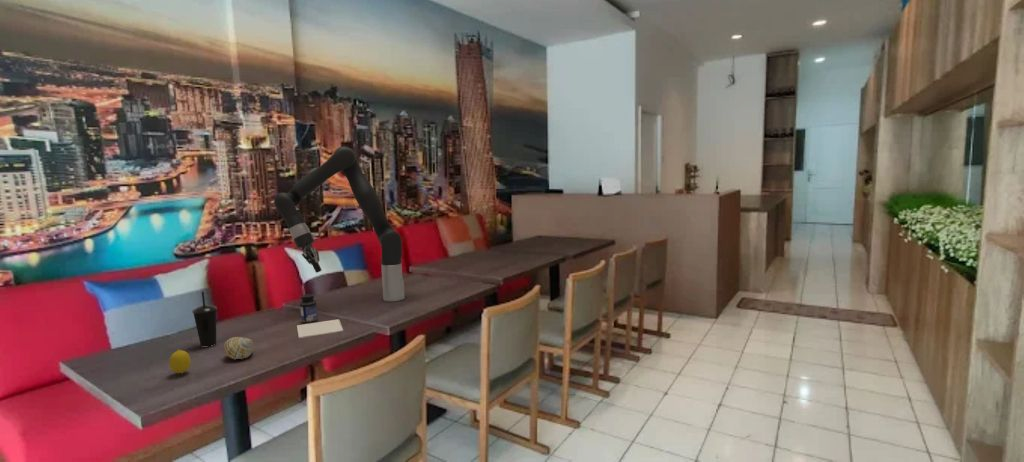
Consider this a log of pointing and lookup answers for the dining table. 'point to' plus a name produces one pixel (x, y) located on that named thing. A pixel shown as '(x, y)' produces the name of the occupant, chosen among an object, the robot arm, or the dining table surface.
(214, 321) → the drinking cup
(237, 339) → the yarn ball
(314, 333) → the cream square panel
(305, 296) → the pill bottle
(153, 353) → the dining table surface
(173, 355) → the lemon
